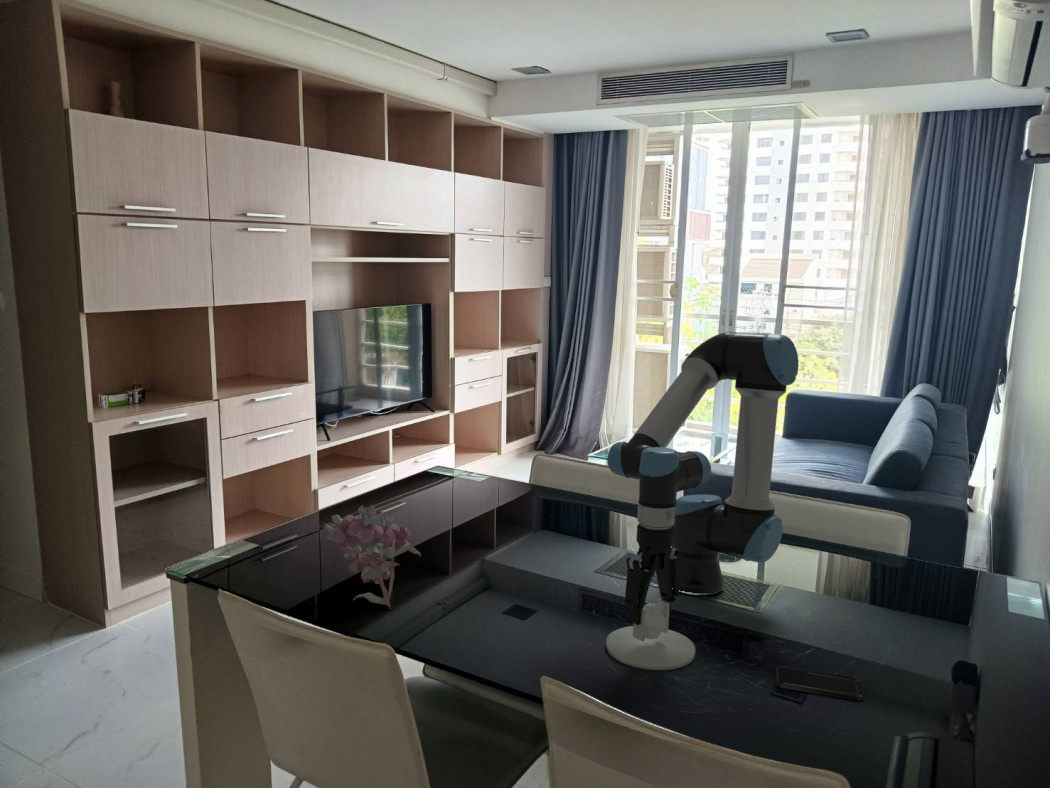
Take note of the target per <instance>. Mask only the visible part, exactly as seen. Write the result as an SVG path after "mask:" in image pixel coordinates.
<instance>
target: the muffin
mask: <svg viewBox="0 0 1050 788" xmlns="http://www.w3.org/2000/svg"><path fill="white" fill-rule="evenodd" d="M643 608H644V609H646V627H645V638H648V639H656V638H658V637H659V636H660V634H661V632H662V631H663V629H664V627H665V625H666V623H667V620H666V617H665V616H664V615H663V614H662V612H661V608H660V606H658V605H657V603H654V602H648V603H646V604H644V607H643Z"/></svg>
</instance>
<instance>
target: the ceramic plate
mask: <svg viewBox="0 0 1050 788" xmlns="http://www.w3.org/2000/svg"><path fill="white" fill-rule="evenodd" d="M605 647H606V651H607V652H608V654H609V655H610V656H611V657H612V658H613V659H615V660H617V661H618V662H620V663H622V664H624V665H627V666H630V667H633V668H637V669H642V670H650V671H669V670H670V671H671V670H676V669H677V670H678V669H680V668H681V669H682V668H683V667H686V666H688V665H689V664H691V663H692V662H693V661H694V659H695V657H696V646H695V644H694V642H693V641H692V640H691V639H689V638H688V637H687V636H685V635H684V634H682V633H680V632H678V631H674V630H671V629H669V628H668V633H666V634H665V633H663V632H661V634H660V636H659V637H658V638H656V639H648V638H645V641H640V640H639V639H637V638H635V637H633V625H631V626H630V625H629V626H623V627H621V628H618V629H615V630H613V631H612V632H610V633H609V634H608V635H607V637H606V643H605Z"/></svg>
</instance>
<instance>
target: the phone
mask: <svg viewBox="0 0 1050 788" xmlns="http://www.w3.org/2000/svg"><path fill="white" fill-rule="evenodd" d="M775 685H776V687H778V688H780V689H785V690H786V689H787V690H790V691H791V690H792V691H798V692H802V693H803V692H804V693H809V694H815V695H816V694H817V695H821V696H828V697H833V698H837V699H838V698H840V699H845V700H849V701H850V700H851V701H857V702H858V701H862V700H863V691H862V686H861V682H860V680H859V679H858V678H855V677H852V676H845V675H841V674H833V673H827V672H821V671H817V670H809V669H803V668H798V667H790V666H785V665H777V666H776V667H775Z"/></svg>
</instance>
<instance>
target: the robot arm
mask: <svg viewBox="0 0 1050 788" xmlns="http://www.w3.org/2000/svg"><path fill="white" fill-rule="evenodd" d="M680 371H681V372H680V373H679V374H678V376H677V377H676V378H675V380H673V382H672V383H671V385H670V386H669V387H668V388H667V390H666V391H665V393H664V394H663V396H662V397H661V398H660V400H659V401H658V402H657V403H656V405H655V406H654V407H653V409H652V410H651V411H650V413H649V414H648V415H647V417H646V418H645V419H644V421H643V422H642V424H641V425H640V426H639V428H638V429H637V430H636V431H635V433H634V434H633V435H632V437H631V438H630V439H629V441H628V442H626V441H618V442H615V443H613V444H612V445H611V447H610V448H609V450H608V453H607V461H606V462H607V465H608V469H609V470H610V472H612V474H614V475H617V476H620V477H623V478H626V479H634V480H638V481H639V483H638V484H639V487H638V503H637V519H636V521H637V523H638V524H637V525H636V542H637V544H638V546H639V547H638V551H637V554H636V556H634V557H630V556H629V557H627V558H626V567H627V571H626V572H627V573H626V584H625V591H624V592H625V593H624V605H625V606H627V607H629V608H632V609H631V623H632V624H633V625H632V626H633V637H635V638H637V639H639V640H640V641H645V627H646V609H644V605H645V603H646V600H647V599H646V598H647V595H648V592H649V588H650V584H651V581H652V578H653V577H654V576H656V580H657V585H658V590H659V595H660V598H657V599H656V600H657V603H656V604H657V605H658V606H660V608H661V612H662V614H663V615H664V616H665V617H666V620H667V623H666V625H665V627H664V629H663V631H662V632H663V633H665V634H666V633H668V629H669V625H670V621H669V619H670V616H671V609H672V607H671V606H672V603H673V604H674V603H675V602H676V600H677V597H678V596H680V593H679V590H680V591H685V592H692V593H715V592H719V591H721V590H722V589H723V590H724V588H723V587H725V586H724V585H725V584H724V583H725V580H724V576H723V573H722V569H721V564H720V561H719V554H722V555H726V556H729V557H730V556H731V557H734V558H737V559H738V558H739V559H740V560H744V561H746V562H754V563H758V564H762V563H765V562H767V561H769V560H770V559H771V558H773V556H774V555H775V553H776V552H777V550H778V549H779V546H780V543H781V540H782V535H783V532H784V531H783V530H784V525H783V520H782V518H781V517H779V516H778V515H775V511H776V510H775V509H776V506H775V504H774V503H773V502H772V501H771V500H770V492H771V479H772V470H773V462H774V461H773V460H774V450H775V439H776V429H777V428H776V427H777V417H778V407H779V400H780V398H781V397H782V396H784V394H786V392H787V386H790V385H792V384H794V383H795V381H796V380H797V376H798V373H799V356H798V351H797V347H796V346H795V343H794V341H793V340H792V339H791V338H790V337H788V336H787V335H784V334H778V333H771V332H768V333H767V332H743V331H742V332H739V331H738V332H737V331H725V332H721V333H719V334H715V335H713V336H712V337H709V338H708V339H706V340H704V341H703V342H702V343H700V344H699V345H698V346H696V347H695V348H694V349H693V350H692V351H691V352H690V353H689V355H688V356H687V357H686V358H684V361H683V362H682V363H681V366H680ZM723 380H730V381H735V383H734V384H735V385H734V389H735V390H736V391H737V393H738V394H739V395H740V401H739V410H738V411H739V413H738V423H737V424H738V425H737V434H736V435H737V436H736V444H735V445H736V446H735V454H734V456H735V457H734V466H733V478H732V486H731V487H732V490H731V495H730V496H728V497H727V498H725V499H724V503H723V501H722V497H720V496H719V495H715V494H688V495H683V496H680V497H678V498H677V495H678V492H681V491H685V490H690V489H694V488H695V489H696V488H698V487H699V486H701V485H704V484H705V483H707V481H708V480H709V479H710V477H711V473H712V466H711V465H712V464H711V462H710V459H708V457H707V456H706V455H705V454H704V453H702V452H700V451H697V450H693V451H692V450H687V451H685V452H684V451H683V452H680V451H677V450H675V449H673V448H670V447H668V445H670V442H671V441H673V439H674V437H675V436H676V435H677V433H678V432H679V430H680V429H681V427H682V426H683V425H684V423H685V422H686V420H688V417H689V416H690V415H691V413H692V412H693V411H694V409H695V408H696V407H697V405H698V403H699V402H700V401H701V400H702V398H703V396H704V395H705V394H706V392H707V391H708V390H711V389H714V388H715V387H716V386H717V384H718V383H719V382H721V381H723ZM655 574H656V575H655ZM672 588H673V589H672Z"/></svg>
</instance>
